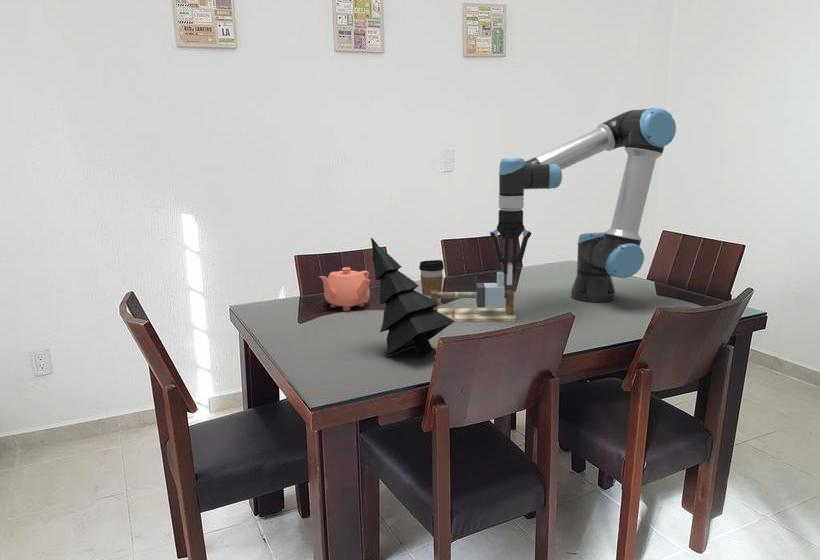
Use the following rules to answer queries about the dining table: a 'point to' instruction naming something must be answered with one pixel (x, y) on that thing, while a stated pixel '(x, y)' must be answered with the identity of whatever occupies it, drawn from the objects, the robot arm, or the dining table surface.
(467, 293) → the pipe rig
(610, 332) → the dining table surface
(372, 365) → the dining table surface
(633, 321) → the dining table surface
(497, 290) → the blue-grey block with post
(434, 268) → the coffee cup
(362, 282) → the teapot
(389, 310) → the decorative tree
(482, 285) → the collar
